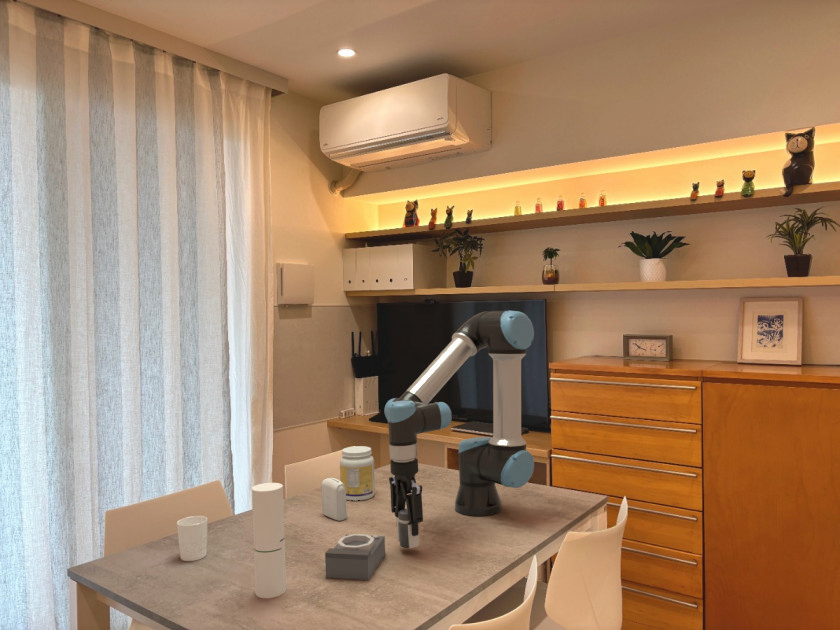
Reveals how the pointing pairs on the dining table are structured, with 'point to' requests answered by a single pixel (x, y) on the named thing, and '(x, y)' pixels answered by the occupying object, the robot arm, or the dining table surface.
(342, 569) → the camera body
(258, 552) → the cylindrical container
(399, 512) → the lens
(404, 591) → the dining table surface
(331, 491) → the photo printer
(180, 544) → the white cup
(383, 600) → the dining table surface
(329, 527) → the dining table surface
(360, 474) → the supplement tub
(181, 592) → the dining table surface
